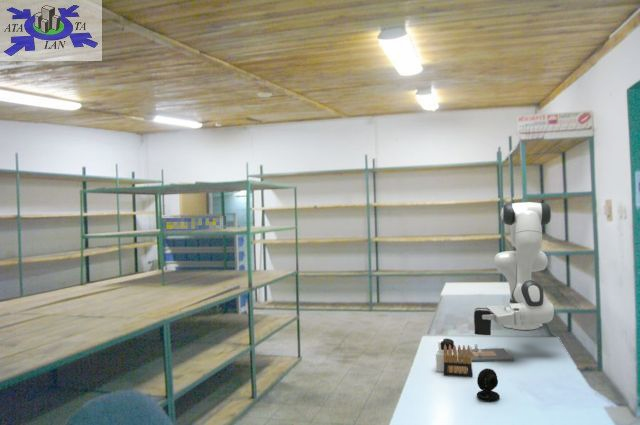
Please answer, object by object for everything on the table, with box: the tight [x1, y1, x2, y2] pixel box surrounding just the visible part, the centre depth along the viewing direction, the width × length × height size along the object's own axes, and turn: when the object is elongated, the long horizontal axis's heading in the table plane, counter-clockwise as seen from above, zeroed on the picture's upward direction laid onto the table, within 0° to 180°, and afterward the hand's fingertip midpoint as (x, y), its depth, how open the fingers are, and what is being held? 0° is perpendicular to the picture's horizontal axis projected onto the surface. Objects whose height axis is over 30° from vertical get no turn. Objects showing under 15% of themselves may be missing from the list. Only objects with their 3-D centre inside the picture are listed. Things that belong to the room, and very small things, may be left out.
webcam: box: [476, 368, 500, 403], centre depth 172 cm, size 8×8×10 cm
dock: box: [456, 343, 514, 363], centre depth 215 cm, size 14×20×4 cm
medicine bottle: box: [435, 338, 458, 373], centre depth 202 cm, size 7×7×12 cm
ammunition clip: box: [443, 344, 474, 378], centre depth 195 cm, size 11×2×12 cm, turn 70°
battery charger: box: [473, 307, 492, 336], centre depth 216 cm, size 7×4×11 cm, turn 72°
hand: (480, 315), depth 215 cm, fingers closed on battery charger, 4 cm apart
